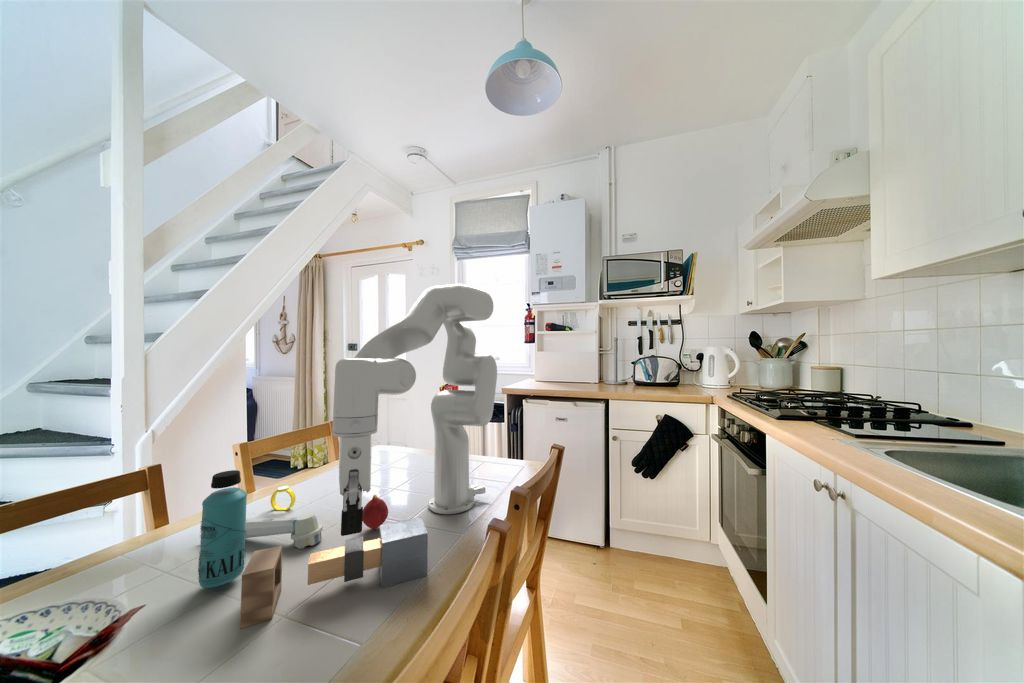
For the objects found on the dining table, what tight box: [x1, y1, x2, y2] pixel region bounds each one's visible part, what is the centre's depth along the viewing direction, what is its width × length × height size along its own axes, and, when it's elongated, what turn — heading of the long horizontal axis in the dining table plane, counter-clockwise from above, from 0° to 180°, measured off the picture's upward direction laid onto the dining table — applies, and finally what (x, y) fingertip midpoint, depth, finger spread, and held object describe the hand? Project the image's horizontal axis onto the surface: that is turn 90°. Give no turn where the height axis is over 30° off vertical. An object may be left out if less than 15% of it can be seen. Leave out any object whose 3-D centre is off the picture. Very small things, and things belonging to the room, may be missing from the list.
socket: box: [239, 544, 283, 629], centre depth 54 cm, size 4×7×8 cm, turn 25°
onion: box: [362, 494, 389, 530], centre depth 79 cm, size 6×6×8 cm
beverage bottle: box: [197, 469, 248, 589], centre depth 60 cm, size 6×7×20 cm
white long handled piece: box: [245, 512, 324, 550], centre depth 74 cm, size 5×7×25 cm
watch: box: [269, 485, 296, 511], centre depth 90 cm, size 6×3×6 cm, turn 89°
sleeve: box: [378, 516, 429, 589], centre depth 64 cm, size 8×7×8 cm
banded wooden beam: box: [307, 535, 382, 586], centre depth 61 cm, size 19×5×5 cm, turn 115°
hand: (351, 521), depth 60 cm, fingers open, 9 cm apart
